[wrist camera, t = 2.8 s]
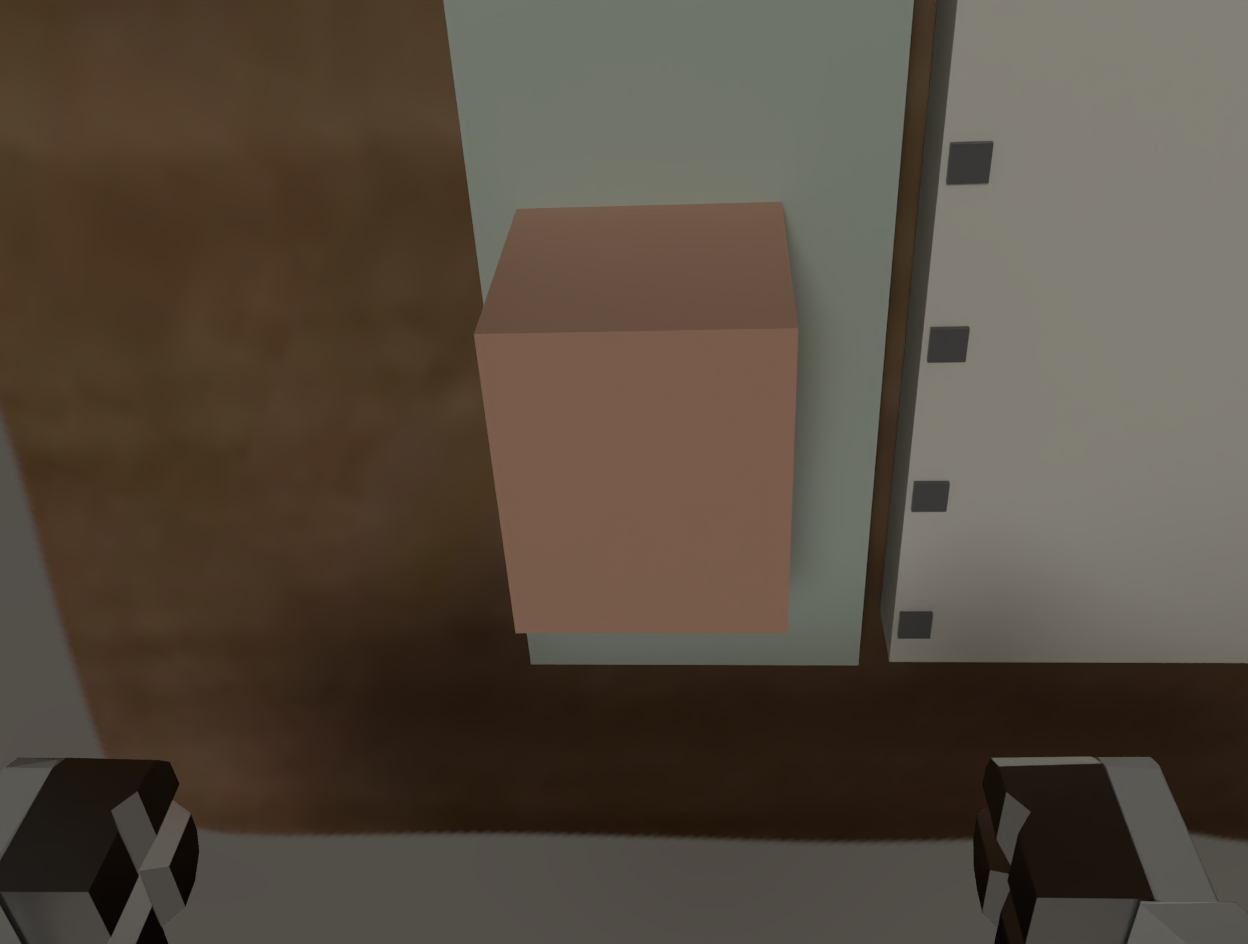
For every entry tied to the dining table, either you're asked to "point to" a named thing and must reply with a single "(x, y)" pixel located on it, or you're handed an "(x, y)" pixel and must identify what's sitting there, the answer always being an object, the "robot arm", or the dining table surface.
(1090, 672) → the dining table surface
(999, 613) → the board
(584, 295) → the green slab pink block
